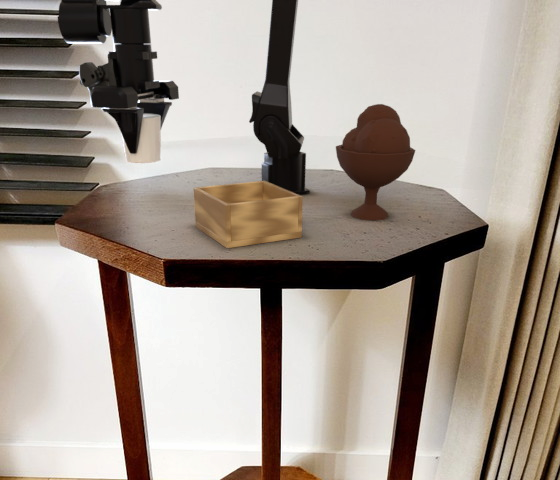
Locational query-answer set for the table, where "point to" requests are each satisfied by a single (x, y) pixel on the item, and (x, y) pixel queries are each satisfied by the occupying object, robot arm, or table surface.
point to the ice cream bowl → (375, 156)
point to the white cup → (147, 141)
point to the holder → (248, 213)
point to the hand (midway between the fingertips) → (142, 150)
